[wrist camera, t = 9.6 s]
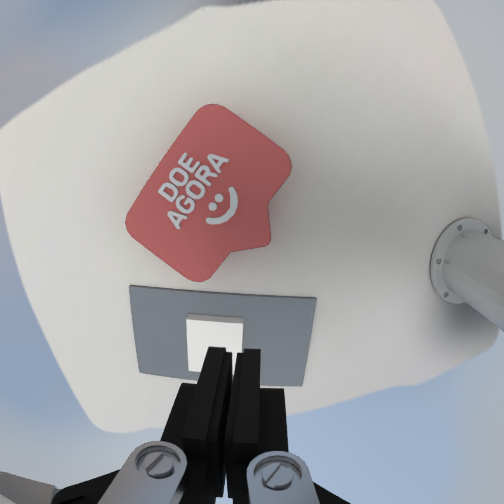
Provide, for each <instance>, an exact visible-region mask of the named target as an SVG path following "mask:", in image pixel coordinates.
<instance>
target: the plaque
mask: <svg viewBox="0 0 504 504" xmlns="http://www.w3.org/2000/svg"><path fill="white" fill-rule="evenodd" d="M291 168H292V167H291V160H290V158H289V155H288V154H287V153H286V152H285V151H284V150H283V149H282V148H281V147H279V146H278V145H277V144H275V143H274V142H273V141H271V140H270V139H269V138H267V137H266V136H265V135H263V134H262V133H260V132H259V131H258V130H256V129H255V128H253V127H252V126H251V125H249V124H248V123H246V122H245V121H244V120H242V119H241V118H239V117H238V116H236V115H235V114H234V113H232V112H231V111H229V110H228V109H226V108H225V107H223V106H220V105H217V104H209V105H205V106H203V107H202V108H200V109H199V110H198V111H197V112H196V113H195V115H194V116H193V117H192V119H191V120H190V121H189V123H188V124H187V125H186V127H185V128H184V129H183V131H182V132H181V133H180V135H179V136H178V137H177V139H176V140H175V142H174V143H173V144H172V146H171V147H170V149H169V150H168V152H167V153H166V154H165V156H164V157H163V159H162V160H161V162H160V163H159V165H158V166H157V168H156V169H155V171H154V172H153V174H152V175H151V177H150V178H149V180H148V181H147V183H146V184H145V186H144V188H143V189H142V191H141V192H140V194H139V195H138V197H137V199H136V200H135V202H134V204H133V205H132V207H131V209H130V210H129V212H128V214H127V217H126V221H125V224H126V228H127V231H128V232H129V234H130V235H131V237H133V238H134V239H135V240H136V241H138V242H139V243H140V244H142V245H143V246H144V247H146V248H147V249H148V250H149V251H151V252H152V253H153V254H155V255H156V256H157V257H159V258H160V259H161V260H163V261H164V262H165V263H167V264H168V265H169V266H171V267H172V268H173V269H175V270H176V271H177V272H179V273H180V274H181V275H183V276H184V277H185V278H187V279H189V280H191V281H195V282H203V281H205V280H207V279H210V277H211V276H212V275H213V274H214V272H215V271H216V270H217V269H218V267H219V266H220V265H221V263H222V262H223V261H224V260H225V258H226V257H227V256H228V255H229V253H230V252H233V251H239V250H246V249H252V248H258V247H265V246H267V245H268V244H269V243H270V241H271V232H270V223H269V214H268V202H269V201H270V200H271V198H272V197H273V196H274V194H275V193H276V192H277V191H278V189H279V188H280V187H281V185H282V184H283V183H284V182H285V180H286V179H287V178H288V176H289V175H290V172H291Z"/></svg>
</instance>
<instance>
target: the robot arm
mask: <svg viewBox="0 0 504 504" xmlns="http://www.w3.org/2000/svg"><path fill="white" fill-rule="evenodd" d="M430 274H431V281H432V285H433V287H434V289H435V291H436V293H437V294H438V295H439V296H440V297H441V298H442V299H443V300H445V301H447V302H449V303H452V304H461V303H465V302H466V303H467V304H469V305H470V306H471V307H473V308H474V309H475V310H477V311H478V312H479V313H481V314H482V315H483V316H485V317H486V318H487V319H488V320H490V321H491V322H492V323H494V324H495V325H496V326H497V327H499V328H500V329H501V330H503V331H504V241H502V240H500V239H497V238H494V237H493V236H492V233H491V232H490V230H489V228H488V227H487V226H486V225H485V224H484V223H483V222H481V221H479V220H476V219H473V218H462V219H460V220H457V221H455V222H454V223H452V224H451V225H450V226H449V227H447V228H446V229H445V231H444V232H443V233H442V235H441V236H440V238H439V239H438V241H437V243H436V245H435V248H434V251H433V254H432V258H431V266H430ZM260 363H261V349H248V348H244V352H243V353H240V352H237V356H236V363H235V370H234V377H233V366H232V352H226V347H211V346H209V347H208V350H207V353H206V356H205V359H204V363H203V366H202V369H201V372H200V376H199V379H198V382H197V384H190V383H182V384H181V386H180V388H179V391H178V394H177V396H176V399H175V402H174V404H173V407H172V410H171V412H170V415H169V418H168V421H167V423H166V426H165V429H164V432H163V435H162V437H161V440H160V441H151V442H147V443H144V444H142V445H140V446H138V447H137V448H136V449H135V450H134V451H133V452H132V453H131V455H130V456H129V457H128V459H127V460H126V462H125V464H124V465H123V466H122V468H121V469H120V470H117V471H114V472H111V473H109V474H106V475H103V476H100V477H97V478H94V479H91V480H89V481H85V482H82V483H79V484H75V485H72V486H69V487H66V488H64V489H57V488H56V487H55V486H54V485H50V484H46V483H42V482H38V481H33V480H30V479H26V478H23V477H19V476H16V475H13V474H9V473H6V472H0V504H215V501H216V497H223V493H224V485H225V477H227V490H228V498H233V504H350V503H349V502H347V501H345V500H343V499H341V498H340V497H338V496H336V495H334V494H333V493H331V492H329V491H328V490H326V489H324V488H322V487H321V486H319V485H317V484H316V483H314V482H313V481H312V478H311V475H310V472H309V469H308V467H307V465H306V463H305V462H304V461H303V460H302V459H301V458H300V457H298V456H296V455H294V454H292V453H289V452H288V438H287V424H286V409H285V395H284V389H283V388H260Z"/></svg>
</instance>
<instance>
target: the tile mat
mask: <svg viewBox="0 0 504 504" xmlns="http://www.w3.org/2000/svg"><path fill="white" fill-rule="evenodd" d="M129 292H130V303H131V313H132V322H133V330H134V338H135V345H136V352H137V359H138V366H139V372H140V373H145V374H151V375H158V376H165V377H172V378H180V379H188V380H197V381H198V379H199V376H200V372H196V371H189V367H188V349H187V326H186V319H187V317H188V314H198V315H210V316H223V317H238V318H244V321H243V341H242V353H243V352H244V348H248V349H261V363H260V385H264V386H302V384H303V379H304V373H305V368H306V362H307V357H308V351H309V345H310V339H311V333H312V327H313V320H314V314H315V307H316V300H317V299H316V298H311V297H288V296H268V295H250V294H234V293H219V292H205V291H192V290H180V289H168V288H157V287H146V286H136V285H130V286H129ZM233 377H234V375H233Z"/></svg>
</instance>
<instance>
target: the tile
mask: <svg viewBox="0 0 504 504" xmlns="http://www.w3.org/2000/svg"><path fill="white" fill-rule="evenodd" d="M243 321H244V318H238V317H223V316H210V315H198V314H188V317H187V319H186V326H187V349H188V367H189V371H196V372H201V369H202V366H203V363H204V359H205V356H206V353H207V350H208V347H209V346H211V347H226V352H232V366H233V375H234V370H235V363H236V356H237V352H240V353H242V341H243Z"/></svg>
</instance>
